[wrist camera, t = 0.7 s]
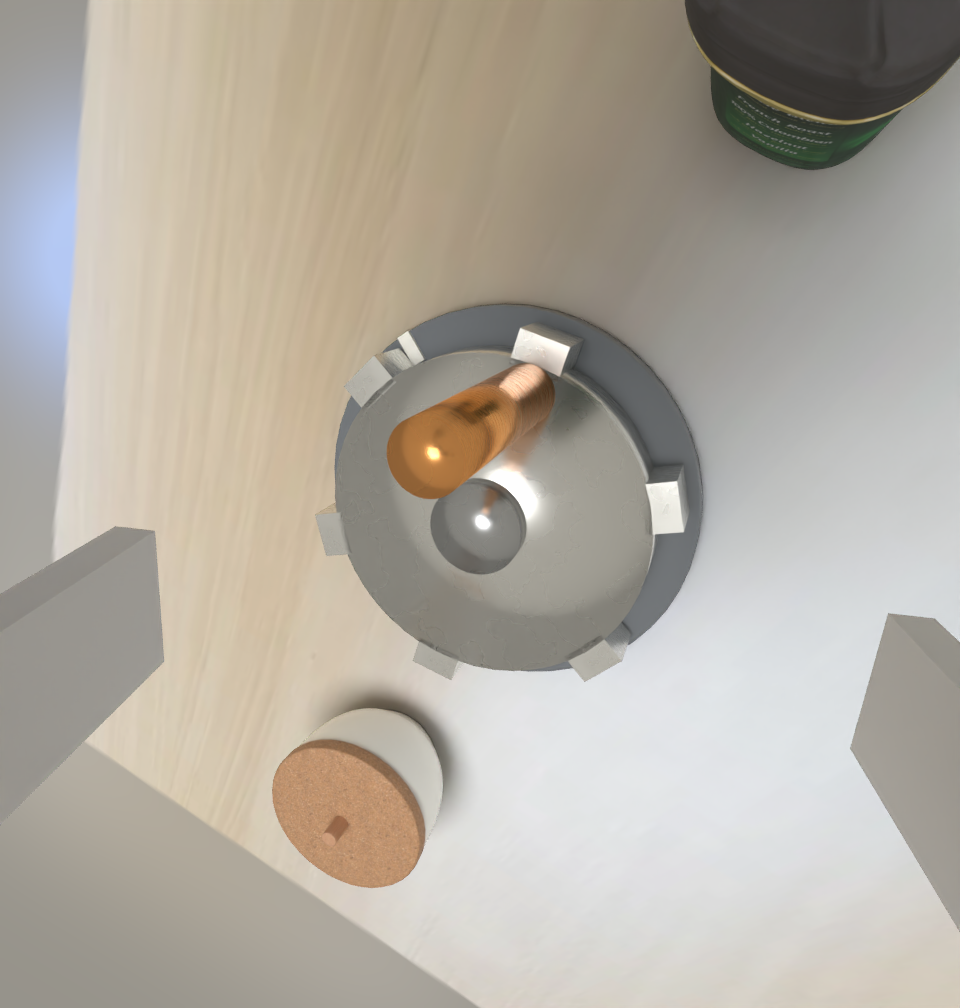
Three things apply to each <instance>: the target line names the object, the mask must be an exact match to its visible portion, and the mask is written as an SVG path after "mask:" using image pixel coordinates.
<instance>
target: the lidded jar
mask: <svg viewBox="0 0 960 1008" xmlns="http://www.w3.org/2000/svg"><path fill="white" fill-rule="evenodd" d="M272 794H273V804H274V808H275V812H276V815H277V818H278V820H279V823H280V825H281V827H282V828H283V830H284V832H285V834H286V835H287V837H288V838H289V840H290V841H291V843H292V844H293V845H294V846H295V847H296V848H297V850H298V851H299V852H300V853H301V854H302V855H303V856H304V857H305V858H306V859H307V860H308V861H309V862H311V863H312V864H313V865H315V866H316V867H317V868H319V869H320V870H322V871H323V872H325V873H326V874H328V875H330V876H332V877H334V878H336V879H338V880H340V881H343V882H345V883H348V884H351V885H356V886H360V887H368V888H376V887H384V886H389V885H393V884H395V883H397V882H399V881H401V880H403V879H404V878H405V877H406V876H408V875H409V874H410V872H411V871H412V870H413V869H414V867H415V865H416V864H417V862H418V860H419V858H420V856H421V854H422V851H423V848H424V846H425V844H426V842H427V840H428V838H429V836H430V834H431V832H432V829H433V827H434V825H435V822H436V819H437V817H438V813H439V809H440V805H441V801H442V794H443V776H442V769H441V764H440V761H439V758H438V755H437V753H436V751H435V749H434V746H433V743H432V741H431V739H430V737H429V735H428V734H427V732H426V731H425V730H424V729H423V727H422V726H421V725H419V724H418V723H417V722H416V721H415V720H413V719H412V718H410V717H409V716H407V715H405V714H403V713H400V712H397V711H392V710H383V709H376V708H364V709H357V710H352V711H349V712H346V713H343V714H341V715H338V716H336V717H334V718H333V719H331V720H329V721H328V722H326V723H325V724H323V725H322V726H321V727H319V728H318V729H317V730H315V731H314V732H313V733H312V734H311V735H310V736H309V737H308V738H307V739H306V740H304V742H303V743H302V744H301V745H300V746H299V747H297V748H296V749H294V750H293V751H292V752H291V753H290V754H289V755H288V756H287V757H286V758H285V759H284V760H283V761H282V763H281V764H280V765H279V767H278V769H277V771H276V773H275V776H274V780H273V788H272Z"/></svg>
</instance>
